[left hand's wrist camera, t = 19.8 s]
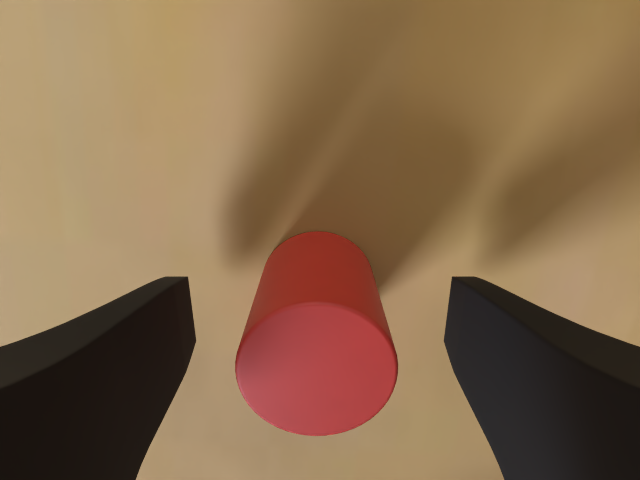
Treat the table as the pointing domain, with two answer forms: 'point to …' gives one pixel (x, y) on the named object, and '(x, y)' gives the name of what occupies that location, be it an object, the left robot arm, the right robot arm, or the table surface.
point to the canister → (316, 339)
